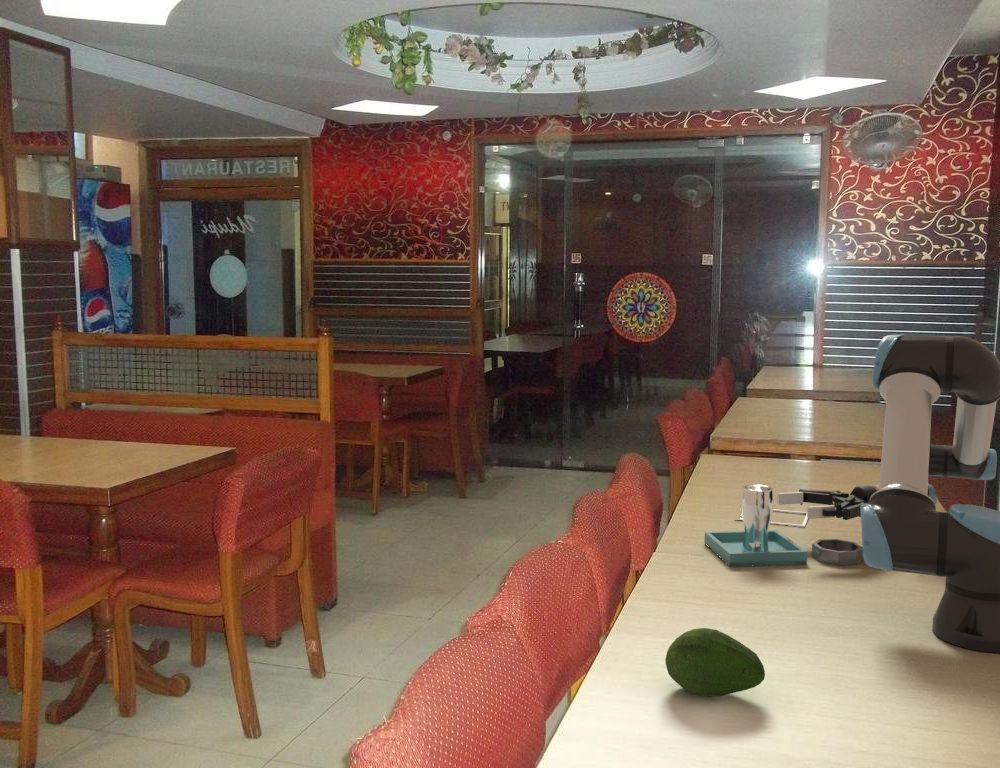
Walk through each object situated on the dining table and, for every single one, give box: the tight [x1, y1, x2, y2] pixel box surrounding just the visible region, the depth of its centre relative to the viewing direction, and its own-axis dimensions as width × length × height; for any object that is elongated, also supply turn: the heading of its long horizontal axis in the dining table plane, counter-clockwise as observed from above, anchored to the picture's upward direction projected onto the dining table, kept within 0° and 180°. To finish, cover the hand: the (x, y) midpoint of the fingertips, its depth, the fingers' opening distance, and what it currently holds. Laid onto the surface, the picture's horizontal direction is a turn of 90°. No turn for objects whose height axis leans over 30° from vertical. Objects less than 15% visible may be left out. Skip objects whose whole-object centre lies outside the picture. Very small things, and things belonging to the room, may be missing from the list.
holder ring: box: [811, 538, 864, 566], centre depth 216 cm, size 10×10×3 cm
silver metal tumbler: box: [741, 484, 774, 552], centre depth 217 cm, size 7×7×15 cm
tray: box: [704, 529, 808, 567], centre depth 219 cm, size 18×18×3 cm
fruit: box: [664, 627, 766, 697], centre depth 145 cm, size 15×10×10 cm, turn 65°
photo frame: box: [740, 508, 809, 529], centre depth 252 cm, size 15×1×18 cm
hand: (792, 505), depth 220 cm, fingers open, 13 cm apart
